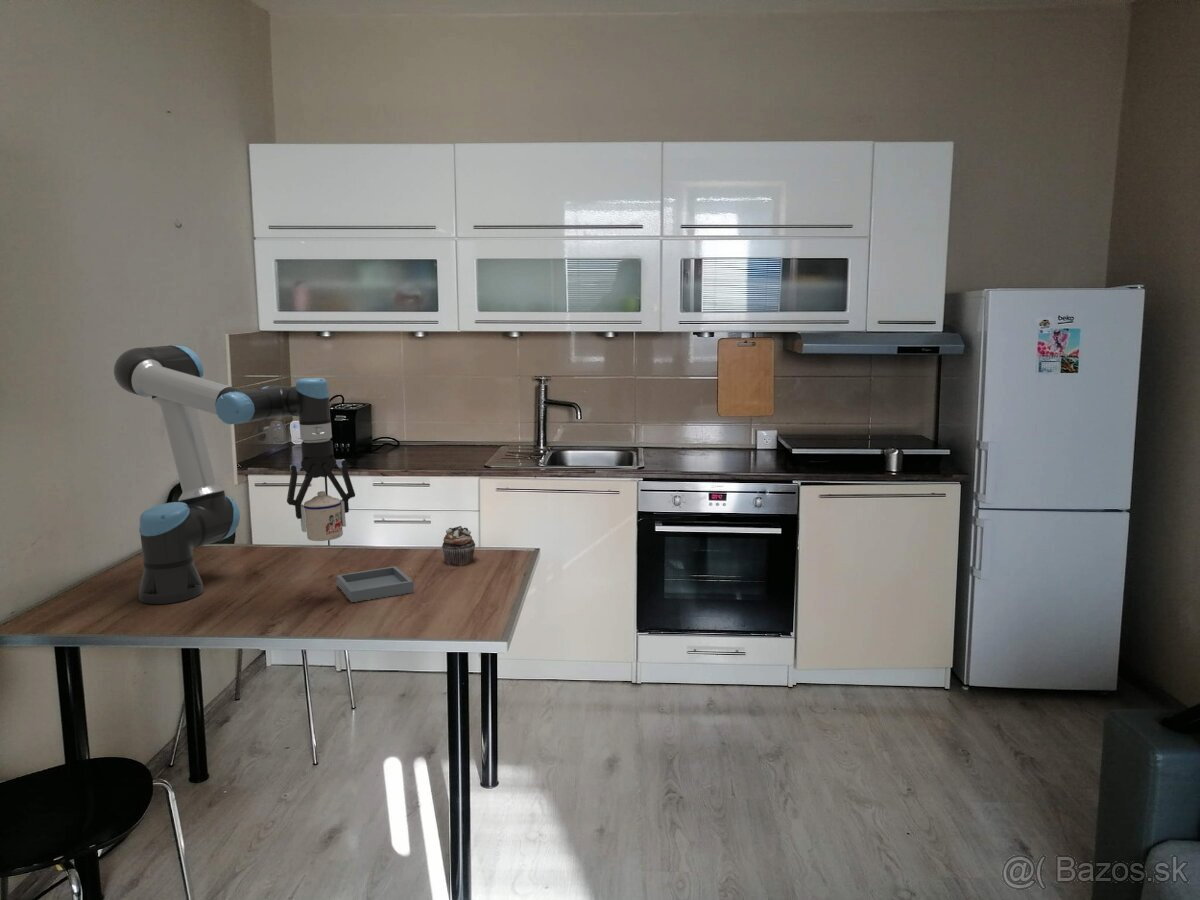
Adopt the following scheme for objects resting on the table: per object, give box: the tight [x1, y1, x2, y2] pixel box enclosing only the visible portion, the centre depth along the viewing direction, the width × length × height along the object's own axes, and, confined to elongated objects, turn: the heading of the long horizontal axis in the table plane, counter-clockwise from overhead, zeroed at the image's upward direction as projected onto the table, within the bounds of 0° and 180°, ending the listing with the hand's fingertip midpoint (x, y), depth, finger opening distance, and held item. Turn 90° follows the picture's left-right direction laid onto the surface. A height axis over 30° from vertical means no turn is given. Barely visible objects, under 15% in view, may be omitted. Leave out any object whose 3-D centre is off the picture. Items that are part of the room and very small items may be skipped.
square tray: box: [336, 565, 415, 603], centre depth 236 cm, size 16×16×3 cm
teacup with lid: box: [303, 490, 344, 542], centre depth 228 cm, size 12×9×12 cm
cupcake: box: [441, 525, 476, 566], centre depth 260 cm, size 10×10×10 cm
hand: (323, 528), depth 228 cm, fingers closed on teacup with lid, 9 cm apart
